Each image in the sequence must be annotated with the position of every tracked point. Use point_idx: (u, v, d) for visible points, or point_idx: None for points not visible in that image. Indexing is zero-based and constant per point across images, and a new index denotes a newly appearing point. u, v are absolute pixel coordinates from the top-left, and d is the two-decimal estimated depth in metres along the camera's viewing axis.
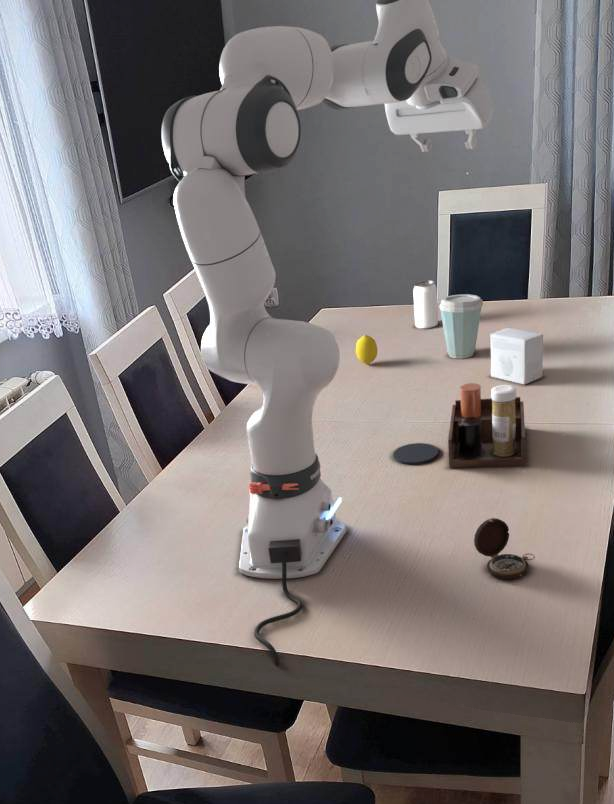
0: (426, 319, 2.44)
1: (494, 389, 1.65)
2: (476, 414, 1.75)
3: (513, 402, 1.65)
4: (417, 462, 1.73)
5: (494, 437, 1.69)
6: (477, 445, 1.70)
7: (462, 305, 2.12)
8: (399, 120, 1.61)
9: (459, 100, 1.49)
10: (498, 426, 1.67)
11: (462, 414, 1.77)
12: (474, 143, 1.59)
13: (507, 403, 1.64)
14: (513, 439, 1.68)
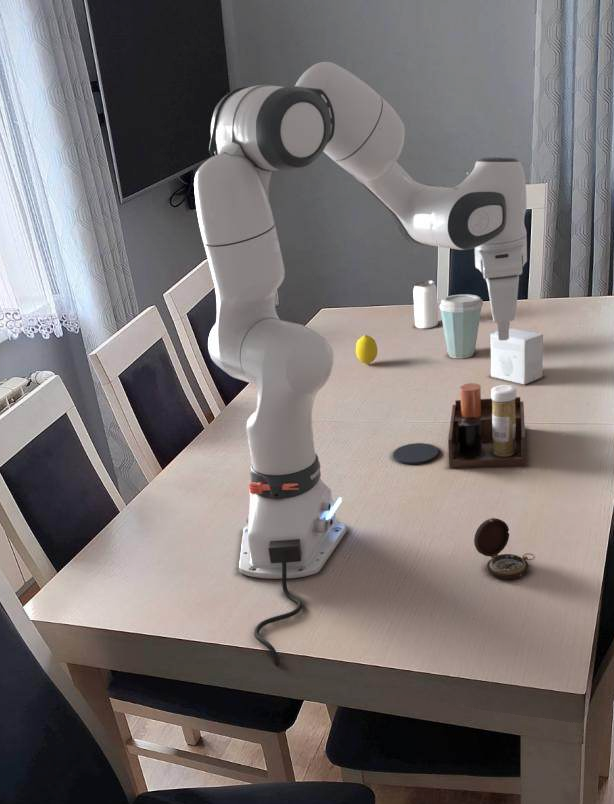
0: (426, 319, 2.44)
1: (494, 389, 1.65)
2: (476, 414, 1.75)
3: (513, 402, 1.65)
4: (417, 462, 1.73)
5: (494, 437, 1.69)
6: (477, 445, 1.70)
7: (462, 305, 2.12)
8: None
9: (487, 281, 1.50)
10: (498, 426, 1.67)
11: (462, 414, 1.77)
12: (503, 336, 1.55)
13: (507, 403, 1.64)
14: (513, 439, 1.68)
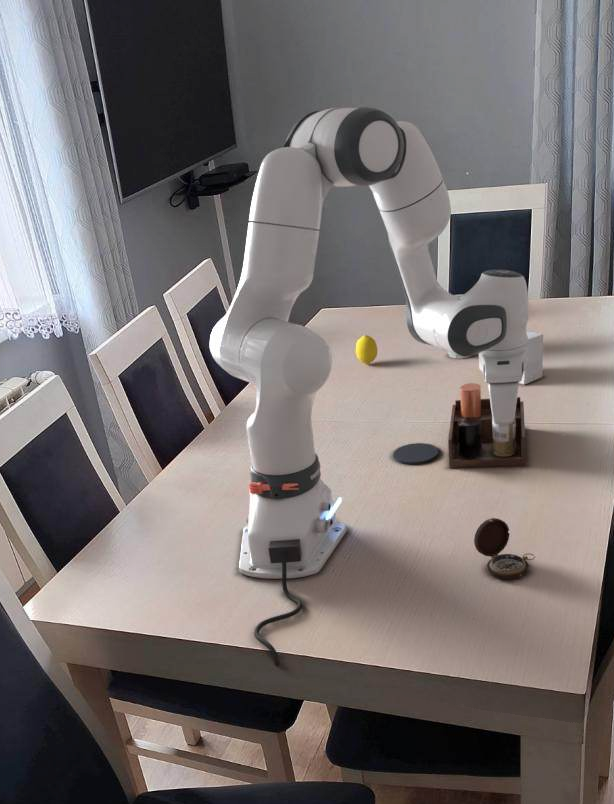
0: None
1: None
2: (476, 414, 1.75)
3: None
4: (417, 462, 1.73)
5: (494, 437, 1.69)
6: (477, 445, 1.70)
7: None
8: None
9: None
10: (498, 426, 1.67)
11: (462, 414, 1.77)
12: (503, 430, 1.65)
13: None
14: (513, 439, 1.68)
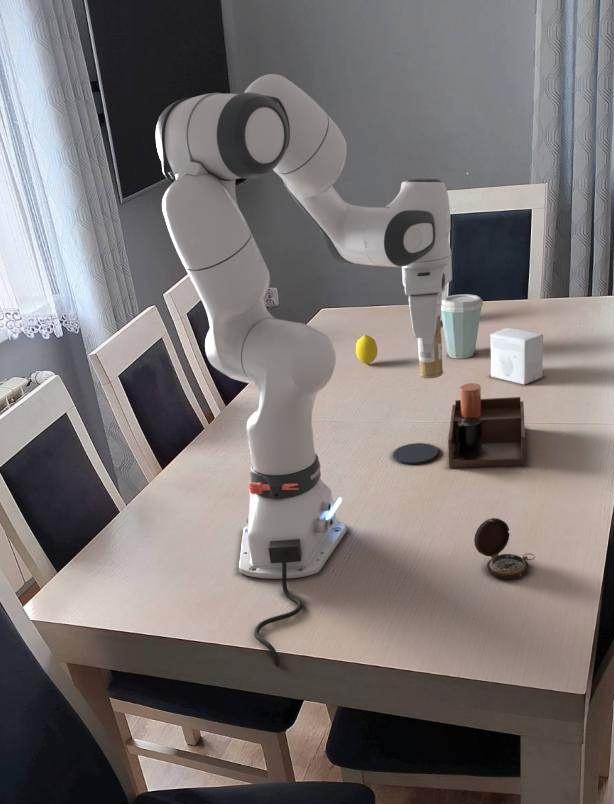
0: None
1: None
2: (476, 414, 1.75)
3: (438, 320, 1.60)
4: (417, 462, 1.73)
5: (420, 358, 1.64)
6: (477, 445, 1.70)
7: (462, 305, 2.12)
8: None
9: None
10: None
11: (462, 414, 1.77)
12: (428, 349, 1.61)
13: None
14: (439, 360, 1.64)
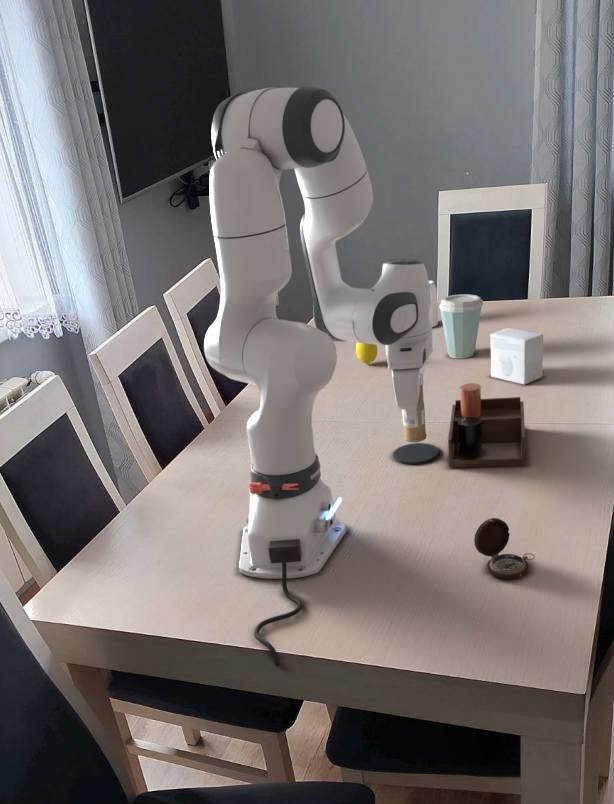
0: None
1: None
2: (476, 414, 1.75)
3: None
4: (417, 462, 1.73)
5: (404, 423, 1.73)
6: (477, 445, 1.70)
7: (462, 305, 2.12)
8: None
9: None
10: None
11: (462, 414, 1.77)
12: (411, 416, 1.69)
13: None
14: (422, 425, 1.72)
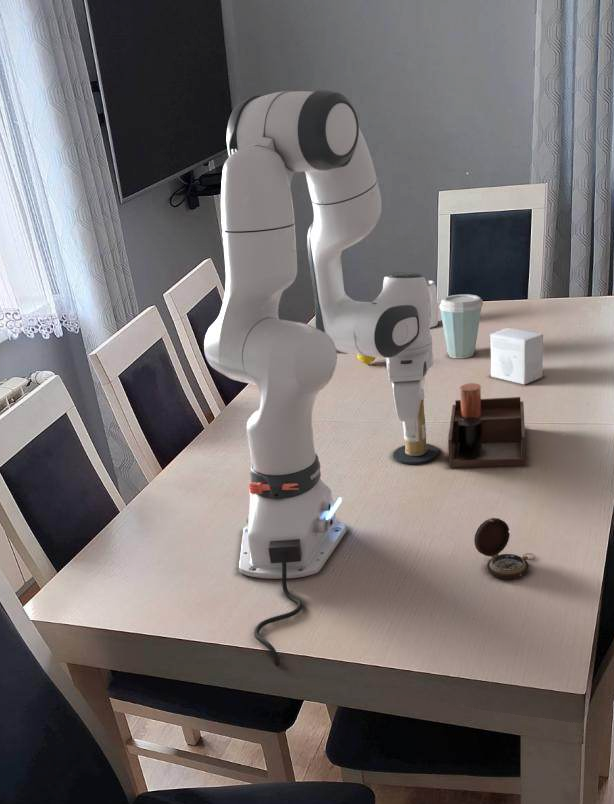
0: None
1: None
2: (476, 414, 1.75)
3: (421, 403, 1.70)
4: (417, 462, 1.73)
5: (405, 437, 1.74)
6: (477, 445, 1.70)
7: (462, 305, 2.12)
8: None
9: None
10: None
11: (462, 414, 1.77)
12: (410, 432, 1.68)
13: None
14: (423, 439, 1.73)
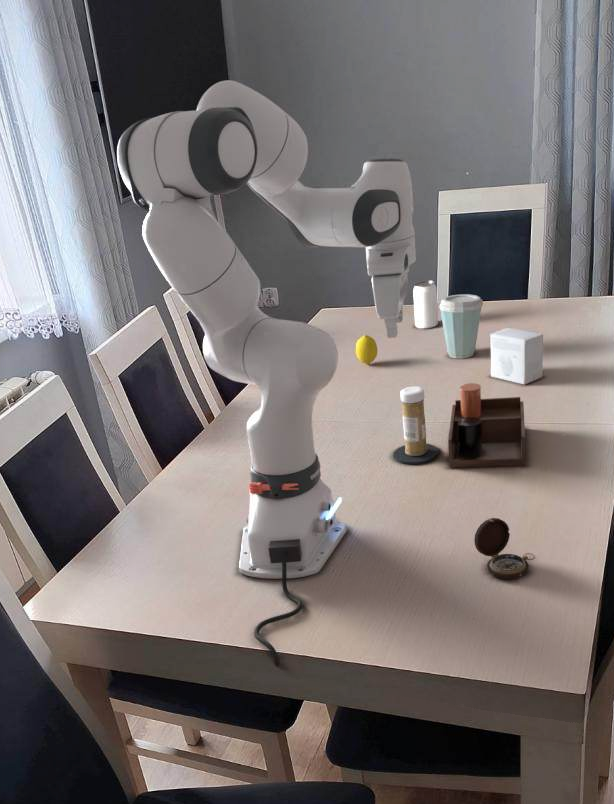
0: (426, 319, 2.44)
1: (403, 390, 1.70)
2: (476, 414, 1.75)
3: (421, 403, 1.70)
4: (417, 462, 1.73)
5: (405, 437, 1.74)
6: (477, 445, 1.70)
7: (462, 305, 2.12)
8: None
9: None
10: (408, 426, 1.72)
11: (462, 414, 1.77)
12: (391, 334, 1.59)
13: (415, 404, 1.69)
14: (423, 439, 1.73)
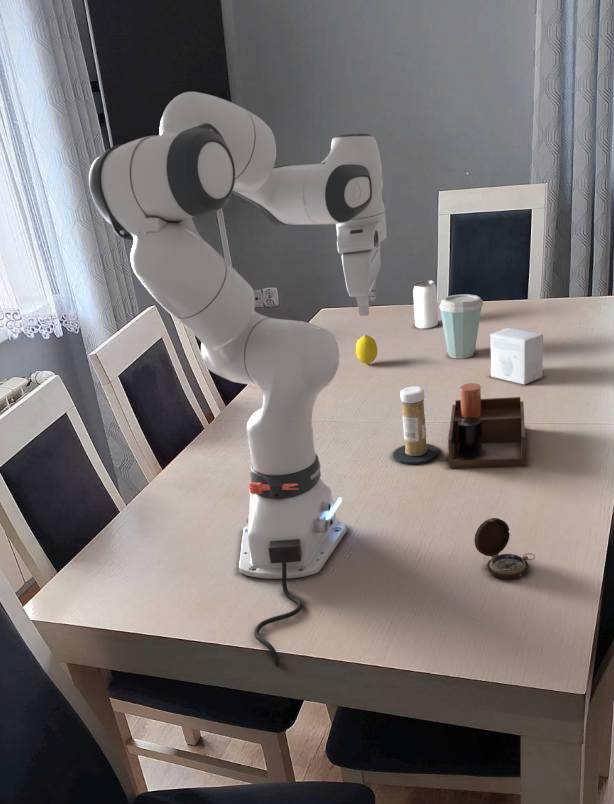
0: (426, 319, 2.44)
1: (403, 390, 1.70)
2: (476, 414, 1.75)
3: (421, 403, 1.70)
4: (417, 462, 1.73)
5: (405, 437, 1.74)
6: (477, 445, 1.70)
7: (462, 305, 2.12)
8: None
9: None
10: (408, 426, 1.72)
11: (462, 414, 1.77)
12: (363, 312, 1.58)
13: (415, 404, 1.69)
14: (423, 439, 1.73)
